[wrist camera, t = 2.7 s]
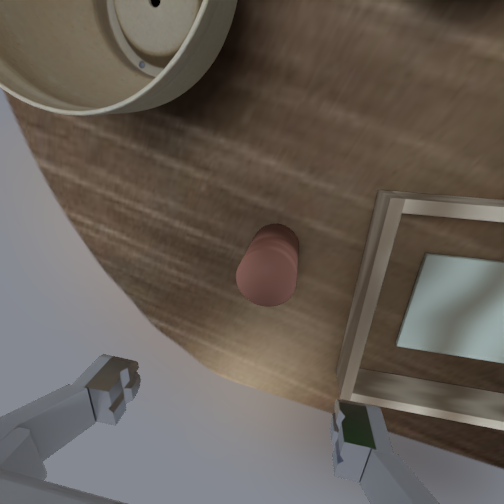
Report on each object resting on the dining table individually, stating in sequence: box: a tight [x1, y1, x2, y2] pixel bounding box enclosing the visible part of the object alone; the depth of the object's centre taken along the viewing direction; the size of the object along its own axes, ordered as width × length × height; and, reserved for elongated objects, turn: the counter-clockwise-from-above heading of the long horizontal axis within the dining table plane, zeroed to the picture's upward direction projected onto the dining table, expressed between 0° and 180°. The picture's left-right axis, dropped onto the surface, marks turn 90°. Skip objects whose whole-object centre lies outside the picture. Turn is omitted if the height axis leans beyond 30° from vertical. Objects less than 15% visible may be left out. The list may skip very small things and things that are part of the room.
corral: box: [336, 190, 504, 430], centre depth 23 cm, size 20×20×4 cm
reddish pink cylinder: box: [236, 224, 299, 306], centre depth 22 cm, size 4×4×7 cm
